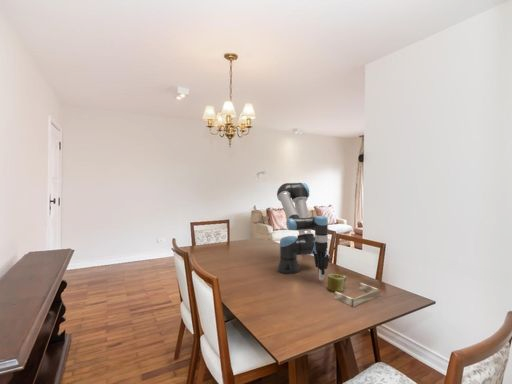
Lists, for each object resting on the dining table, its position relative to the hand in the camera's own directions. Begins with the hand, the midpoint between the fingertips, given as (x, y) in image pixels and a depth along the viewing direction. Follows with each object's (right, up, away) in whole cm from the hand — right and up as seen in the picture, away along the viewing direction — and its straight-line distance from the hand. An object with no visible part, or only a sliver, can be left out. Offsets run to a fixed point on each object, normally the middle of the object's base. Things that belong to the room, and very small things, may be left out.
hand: (321, 279), depth 172 cm
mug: (+7, -3, -11) cm, 13 cm away
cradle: (+14, -3, -22) cm, 26 cm away
